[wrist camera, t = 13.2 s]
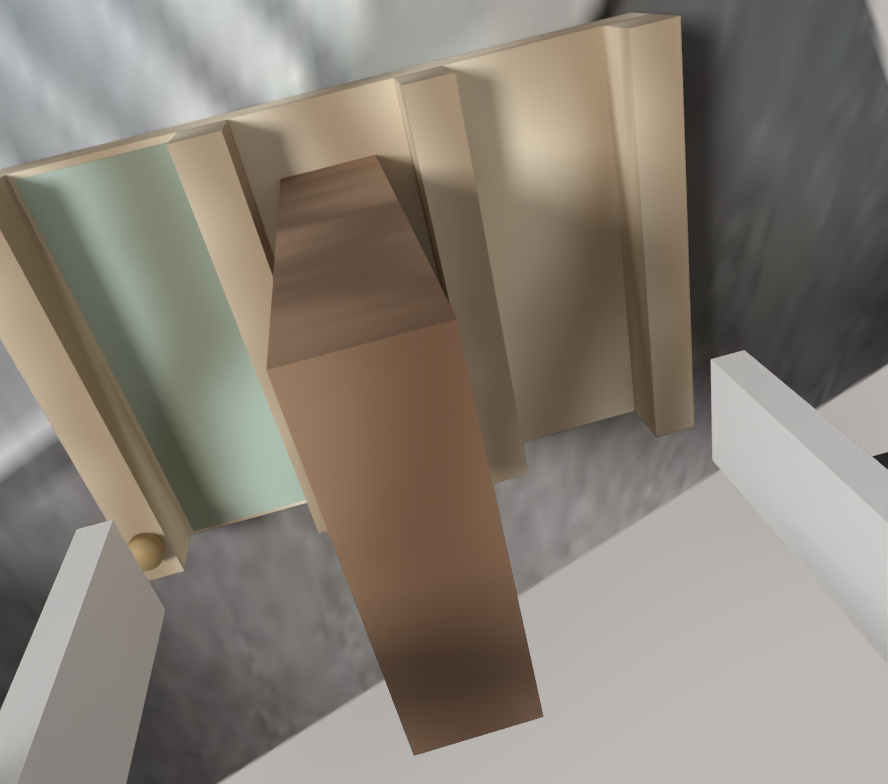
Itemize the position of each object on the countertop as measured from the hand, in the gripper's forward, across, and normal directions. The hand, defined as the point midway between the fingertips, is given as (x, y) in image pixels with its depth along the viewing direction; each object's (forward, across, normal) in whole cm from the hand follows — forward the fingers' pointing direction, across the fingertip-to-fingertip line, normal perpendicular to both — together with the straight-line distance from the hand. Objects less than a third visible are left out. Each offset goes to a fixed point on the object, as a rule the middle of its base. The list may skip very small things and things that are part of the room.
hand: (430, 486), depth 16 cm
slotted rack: (+12, 0, 0) cm, 12 cm away
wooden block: (+10, -1, 0) cm, 10 cm away
